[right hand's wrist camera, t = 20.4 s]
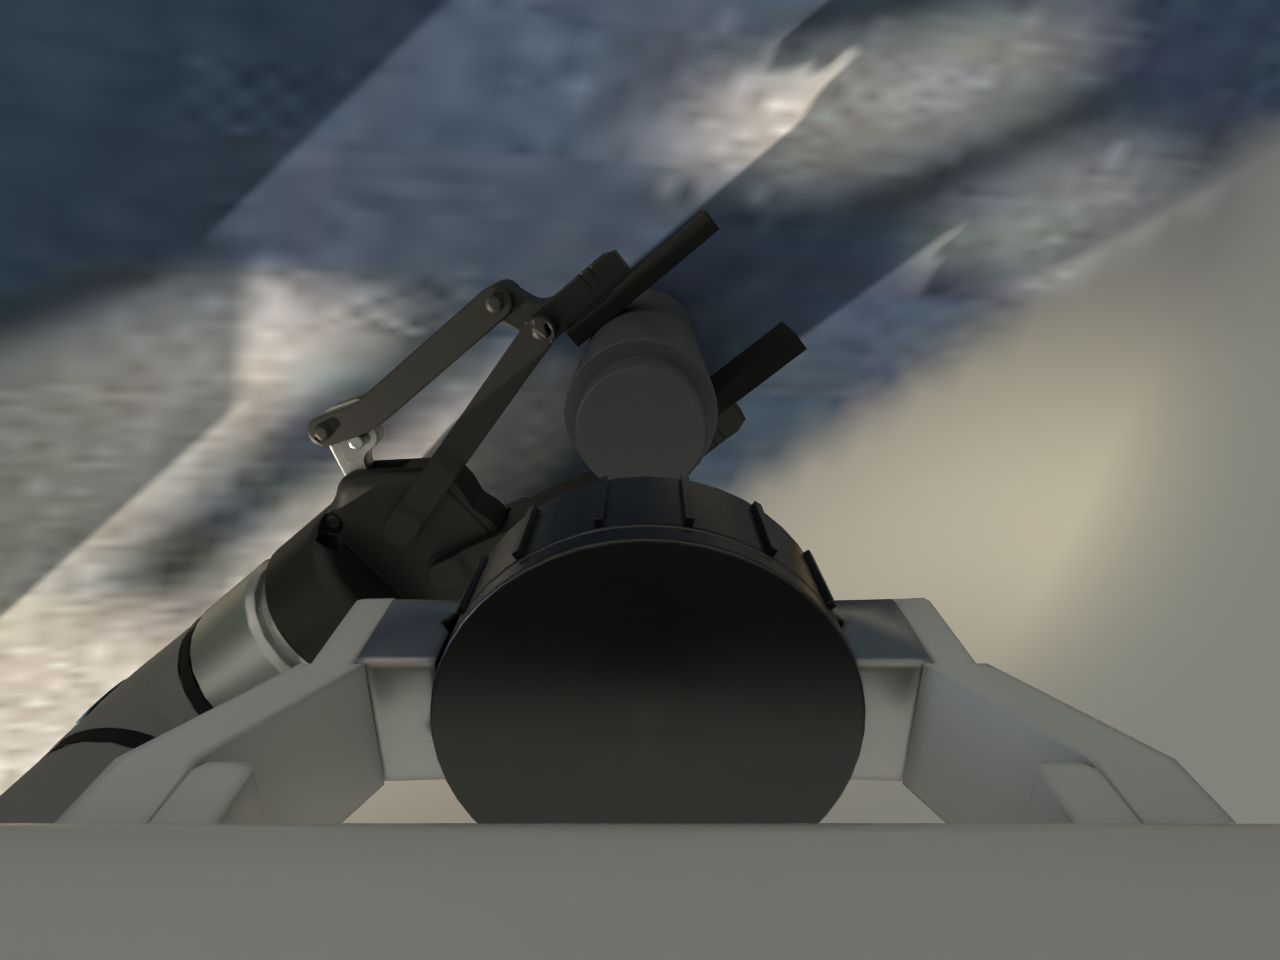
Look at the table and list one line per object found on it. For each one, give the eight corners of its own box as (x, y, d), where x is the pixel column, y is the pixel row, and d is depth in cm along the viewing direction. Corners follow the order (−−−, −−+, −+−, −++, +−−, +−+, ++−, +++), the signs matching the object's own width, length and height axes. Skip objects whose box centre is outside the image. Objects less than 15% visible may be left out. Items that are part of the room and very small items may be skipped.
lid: (897, 551, 10) (954, 630, 8) (737, 822, 11) (754, 935, 10) (530, 414, 9) (502, 466, 7) (421, 724, 11) (378, 826, 9)
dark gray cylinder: (602, 388, 35) (569, 514, 21) (590, 292, 33) (546, 357, 19) (695, 380, 35) (727, 500, 21) (689, 282, 33) (718, 341, 19)
